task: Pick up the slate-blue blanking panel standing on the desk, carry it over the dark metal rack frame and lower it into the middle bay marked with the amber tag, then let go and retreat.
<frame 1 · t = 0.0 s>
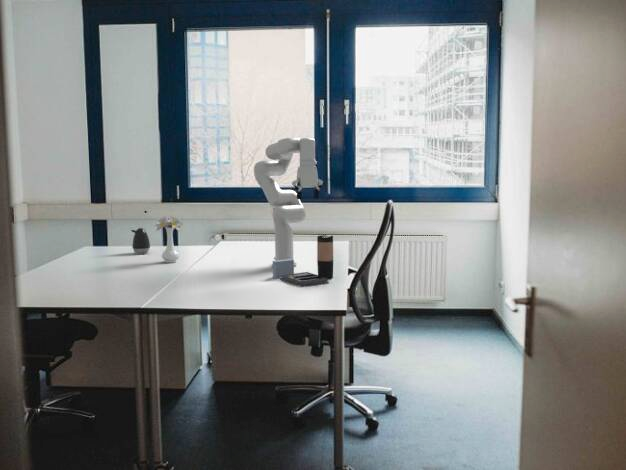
hand: (307, 198, 335), 37 cm above the table, tool pointing down, fingers open, 9 cm apart
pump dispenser: (141, 253, 404), on the table
travel mug: (325, 278, 327), on the table
flower vase: (170, 262, 376), on the table
rack: (304, 281, 319), on the table
panel: (283, 276, 331), on the table
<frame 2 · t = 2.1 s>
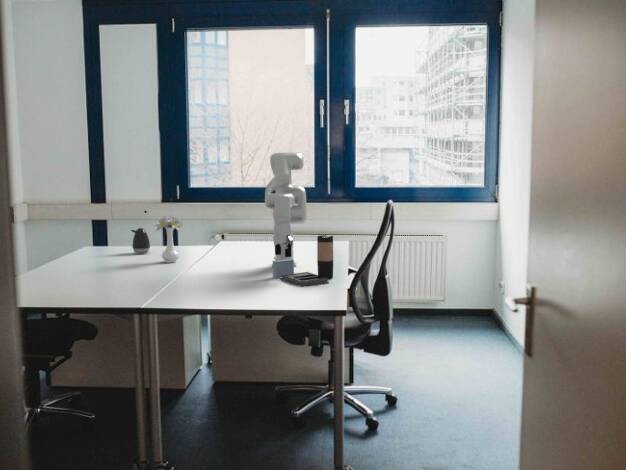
hand: (283, 255, 329), 10 cm above the table, tool pointing down, fingers open, 9 cm apart
nothing on the table moved.
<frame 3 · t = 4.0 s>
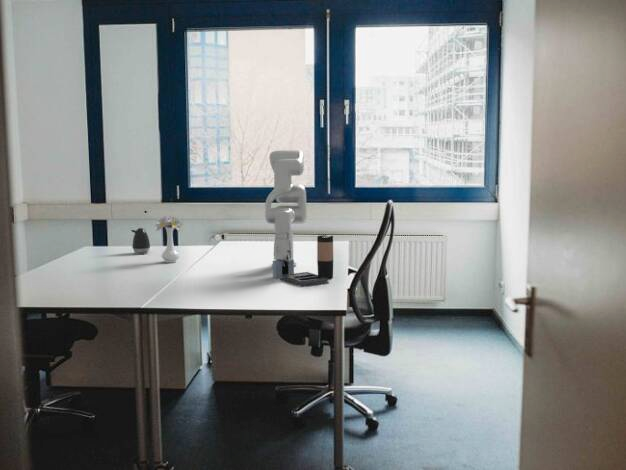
hand: (283, 273, 331), 2 cm above the table, tool pointing down, fingers closed on panel, 3 cm apart
panel: (283, 276, 331), on the table, touching gripper
everything else where it was.
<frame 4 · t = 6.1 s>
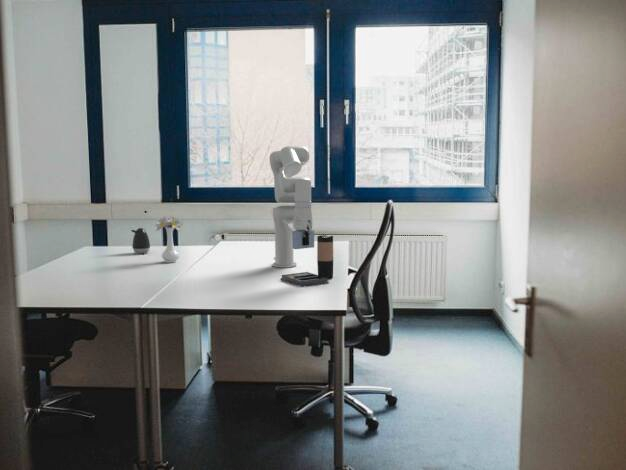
hand: (303, 244, 316), 17 cm above the table, tool pointing down, fingers closed on panel, 3 cm apart
panel: (303, 247, 317), point 16 cm above the table, touching gripper
everything else where it was.
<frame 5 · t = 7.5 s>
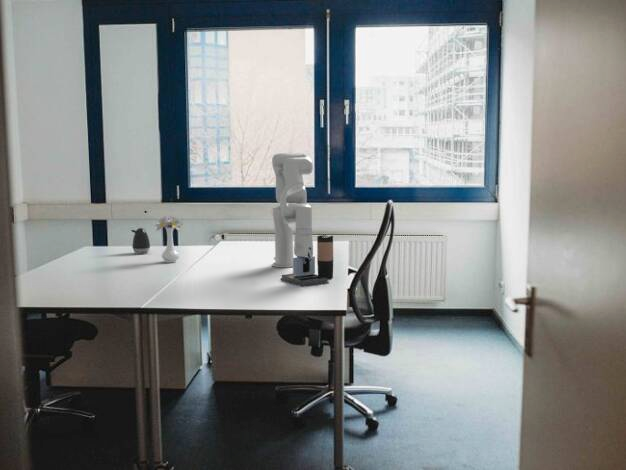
hand: (304, 270, 318), 5 cm above the table, tool pointing down, fingers closed on panel, 3 cm apart
panel: (304, 274, 318), point 3 cm above the table, touching gripper
everything else where it was.
when the fingers open (3 cm above the table, at t = 8.4 s): panel stays where it is, resting on rack.
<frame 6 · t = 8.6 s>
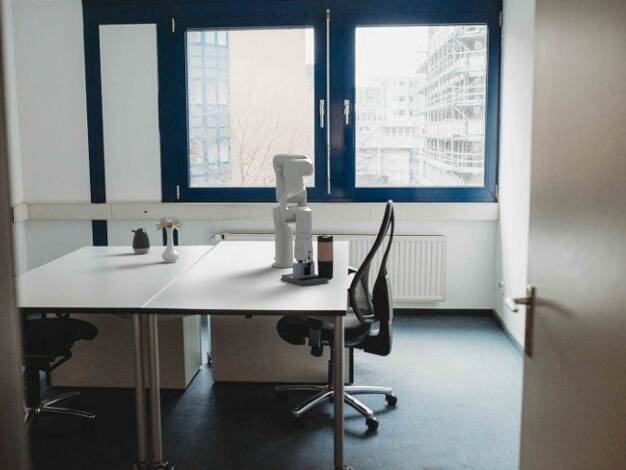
hand: (304, 273, 318), 4 cm above the table, tool pointing down, fingers open, 4 cm apart
panel: (303, 279, 319), point 1 cm above the table, touching rack
everything else where it was.
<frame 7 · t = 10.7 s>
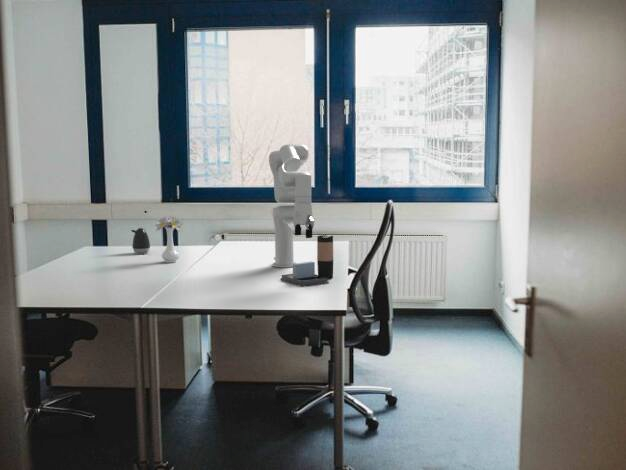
hand: (303, 236, 318), 21 cm above the table, tool pointing down, fingers open, 9 cm apart
nothing on the table moved.
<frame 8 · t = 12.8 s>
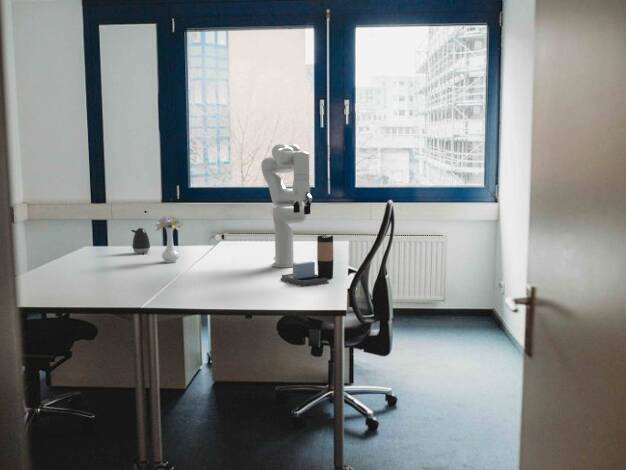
hand: (301, 213, 329), 30 cm above the table, tool pointing down, fingers open, 9 cm apart
nothing on the table moved.
at the end: panel 0.2 cm off-centre on the rack, point 0.7 cm above the rack's base; panel tilted 0°; the gripper is holding nothing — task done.
